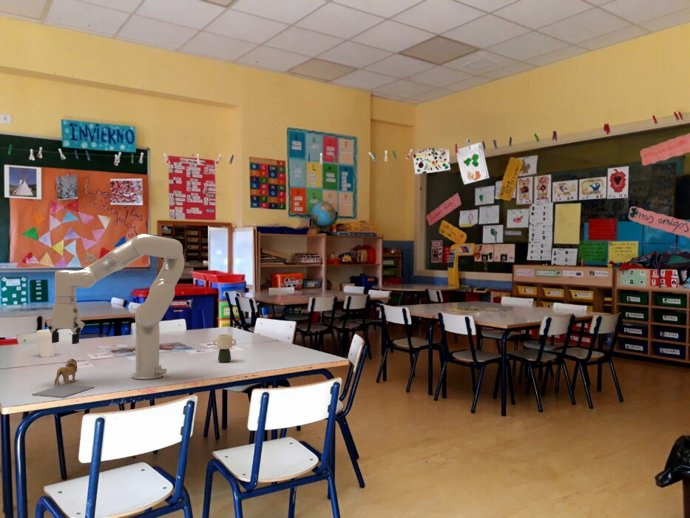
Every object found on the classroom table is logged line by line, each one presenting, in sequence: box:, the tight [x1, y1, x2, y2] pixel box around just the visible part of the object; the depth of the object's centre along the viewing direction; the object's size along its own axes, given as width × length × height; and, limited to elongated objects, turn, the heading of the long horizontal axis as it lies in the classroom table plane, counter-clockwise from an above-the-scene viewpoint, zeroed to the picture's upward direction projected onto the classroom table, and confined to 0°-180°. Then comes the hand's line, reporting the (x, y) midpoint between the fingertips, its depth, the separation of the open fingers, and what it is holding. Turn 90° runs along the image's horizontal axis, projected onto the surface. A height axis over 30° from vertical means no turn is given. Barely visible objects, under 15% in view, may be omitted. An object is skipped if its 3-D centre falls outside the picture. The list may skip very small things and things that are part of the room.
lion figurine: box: [53, 358, 78, 386], centre depth 227 cm, size 15×5×9 cm, turn 6°
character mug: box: [212, 333, 237, 363], centre depth 273 cm, size 11×7×13 cm, turn 93°
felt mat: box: [31, 383, 95, 399], centre depth 214 cm, size 14×16×1 cm
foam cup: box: [36, 328, 57, 358], centre depth 285 cm, size 10×9×13 cm
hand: (65, 343), depth 227 cm, fingers open, 9 cm apart
